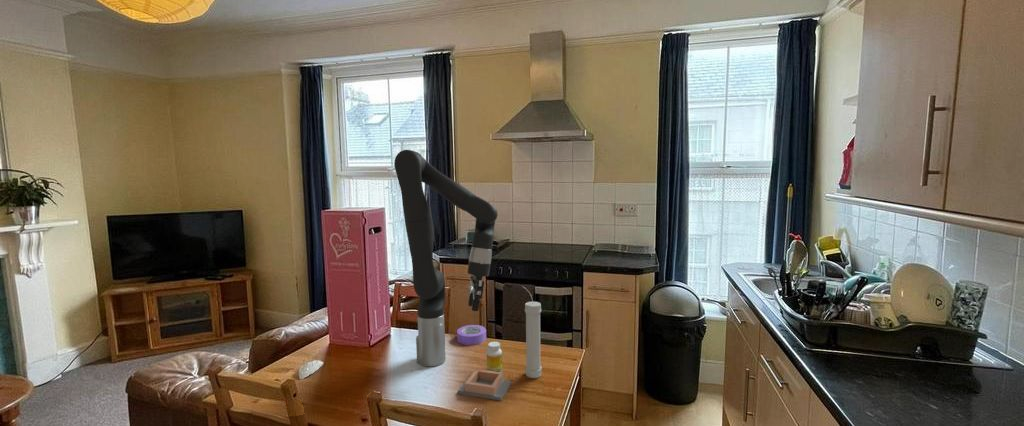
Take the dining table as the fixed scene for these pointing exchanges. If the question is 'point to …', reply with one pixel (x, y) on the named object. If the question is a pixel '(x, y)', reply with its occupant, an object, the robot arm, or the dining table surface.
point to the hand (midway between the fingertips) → (472, 308)
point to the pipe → (533, 339)
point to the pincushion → (309, 368)
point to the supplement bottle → (494, 357)
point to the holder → (485, 385)
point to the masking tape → (471, 334)
